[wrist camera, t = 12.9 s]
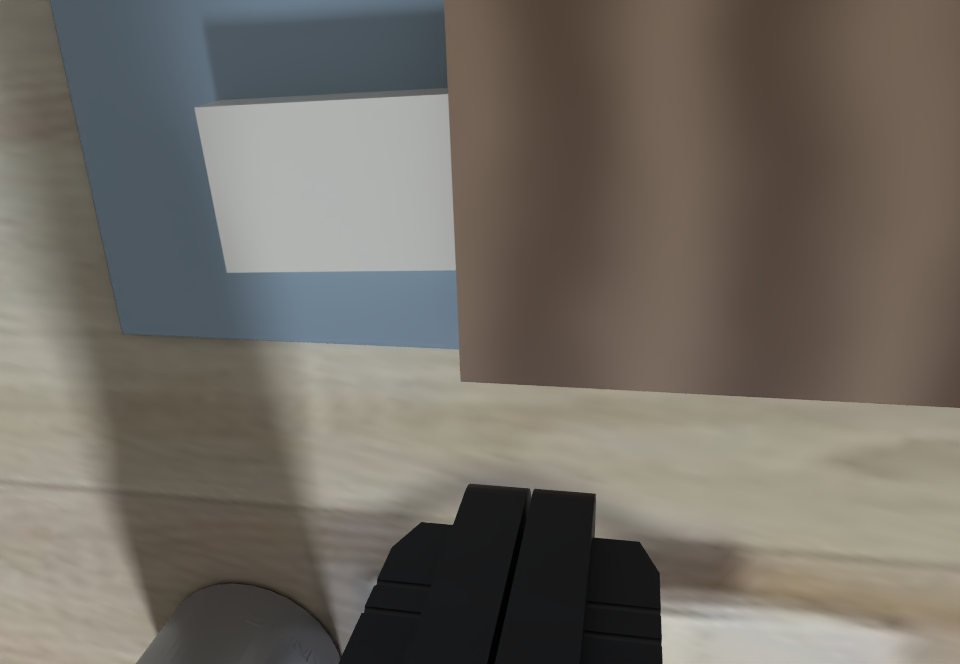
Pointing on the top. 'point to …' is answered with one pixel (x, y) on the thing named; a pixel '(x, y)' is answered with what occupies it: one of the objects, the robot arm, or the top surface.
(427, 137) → the white rectangular block
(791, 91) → the deck
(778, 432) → the top surface
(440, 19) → the mat
